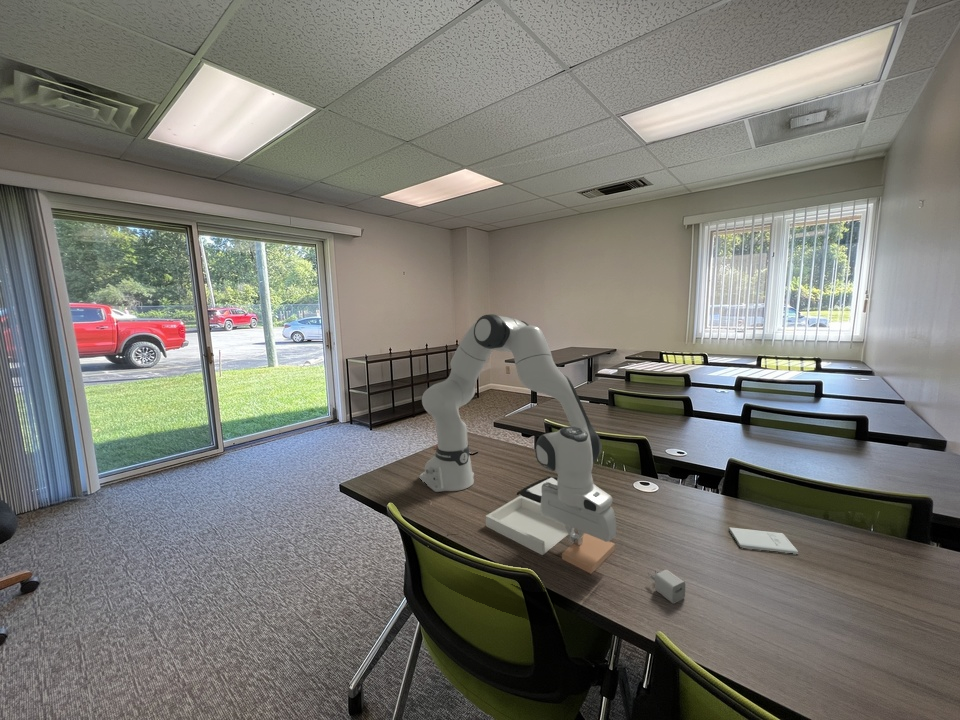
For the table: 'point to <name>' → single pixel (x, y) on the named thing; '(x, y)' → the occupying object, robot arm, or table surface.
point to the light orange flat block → (588, 553)
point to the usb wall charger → (669, 586)
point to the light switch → (536, 489)
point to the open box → (526, 525)
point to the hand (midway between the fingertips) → (576, 542)
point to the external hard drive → (762, 540)
